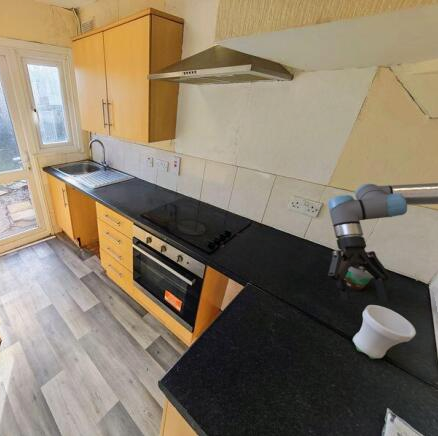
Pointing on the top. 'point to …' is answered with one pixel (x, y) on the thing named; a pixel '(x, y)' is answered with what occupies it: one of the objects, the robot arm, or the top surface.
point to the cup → (382, 331)
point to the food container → (357, 277)
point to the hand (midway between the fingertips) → (365, 300)
